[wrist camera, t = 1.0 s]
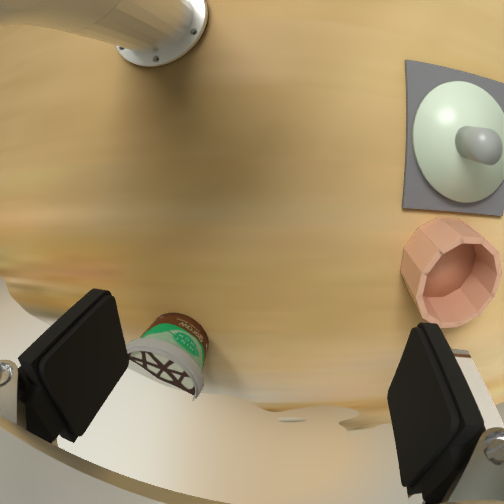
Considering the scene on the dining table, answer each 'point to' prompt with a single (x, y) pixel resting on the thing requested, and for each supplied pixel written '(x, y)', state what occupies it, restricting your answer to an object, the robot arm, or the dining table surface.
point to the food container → (173, 351)
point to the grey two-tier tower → (481, 398)
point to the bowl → (450, 272)
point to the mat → (415, 185)
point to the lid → (460, 141)
